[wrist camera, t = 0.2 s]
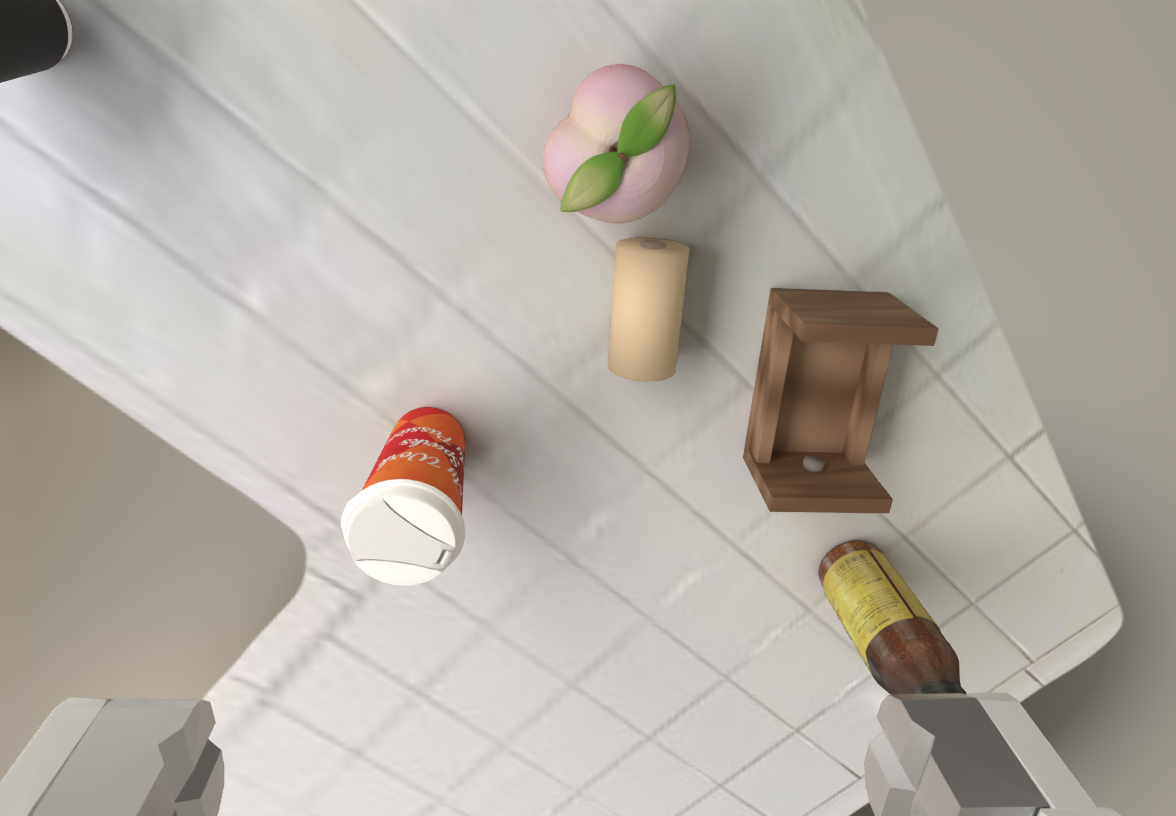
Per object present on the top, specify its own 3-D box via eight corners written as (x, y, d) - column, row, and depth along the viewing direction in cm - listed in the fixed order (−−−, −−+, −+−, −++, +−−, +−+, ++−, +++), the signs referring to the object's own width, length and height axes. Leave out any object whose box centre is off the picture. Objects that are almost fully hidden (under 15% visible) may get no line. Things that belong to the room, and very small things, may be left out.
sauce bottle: (806, 589, 69) (900, 779, 51) (828, 532, 67) (935, 712, 49) (873, 597, 70) (989, 787, 52) (897, 541, 68) (1028, 721, 50)
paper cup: (494, 417, 60) (482, 517, 47) (455, 493, 63) (435, 607, 50) (399, 378, 58) (361, 471, 45) (364, 458, 61) (318, 567, 48)
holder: (770, 288, 57) (805, 324, 49) (888, 292, 57) (938, 328, 50) (743, 457, 63) (769, 511, 56) (849, 459, 64) (889, 513, 56)
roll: (613, 233, 54) (621, 251, 50) (682, 236, 55) (696, 254, 50) (604, 356, 58) (611, 382, 54) (669, 358, 59) (680, 384, 54)
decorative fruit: (623, 231, 54) (640, 269, 45) (524, 166, 52) (521, 192, 43) (702, 113, 51) (737, 129, 42) (601, 38, 49) (616, 37, 40)
